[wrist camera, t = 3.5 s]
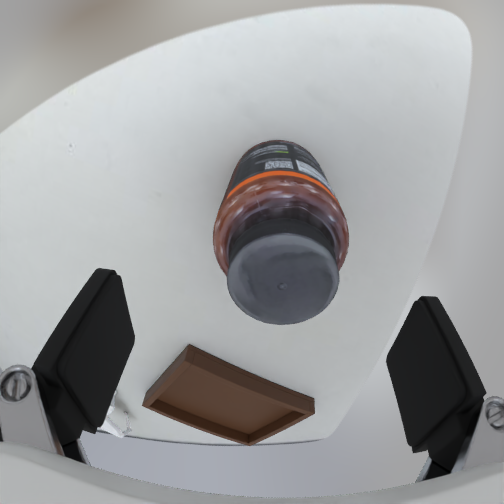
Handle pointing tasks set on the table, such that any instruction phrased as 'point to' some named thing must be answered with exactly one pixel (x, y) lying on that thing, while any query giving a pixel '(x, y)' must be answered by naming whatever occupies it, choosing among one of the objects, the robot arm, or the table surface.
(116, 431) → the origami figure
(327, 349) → the table surface
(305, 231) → the supplement bottle
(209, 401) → the serving tray
